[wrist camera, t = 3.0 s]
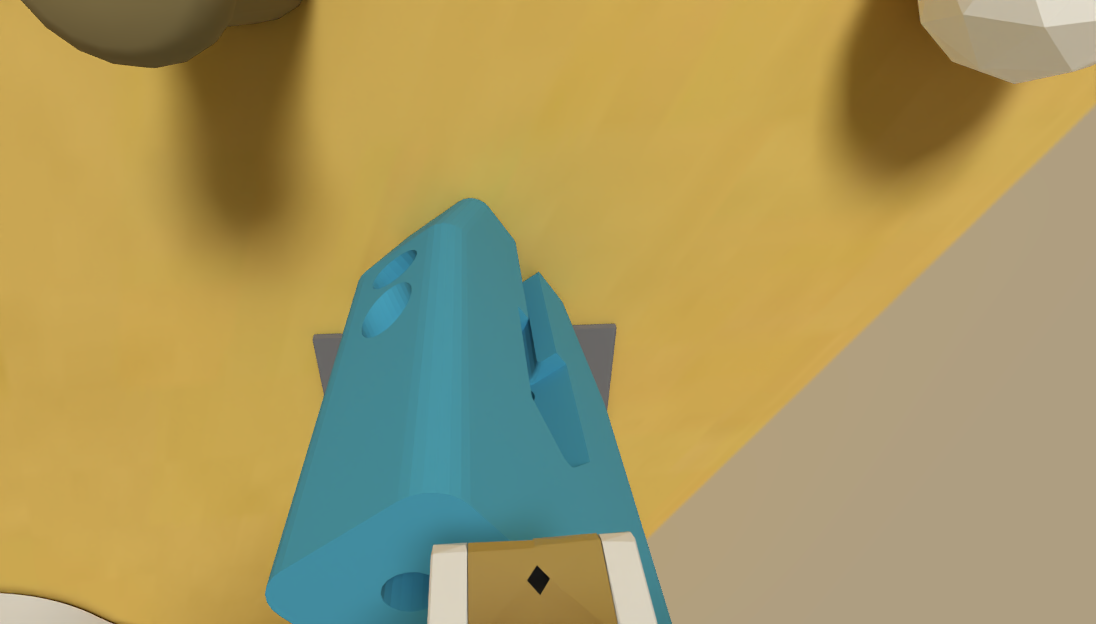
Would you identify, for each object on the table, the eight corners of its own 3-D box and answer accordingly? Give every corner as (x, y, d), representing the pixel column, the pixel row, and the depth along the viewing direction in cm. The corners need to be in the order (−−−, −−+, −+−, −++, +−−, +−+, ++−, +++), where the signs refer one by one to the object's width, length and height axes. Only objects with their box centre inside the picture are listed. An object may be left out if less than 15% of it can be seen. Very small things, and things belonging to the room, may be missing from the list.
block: (367, 221, 30) (243, 594, 13) (452, 160, 29) (438, 476, 12) (513, 382, 36) (561, 789, 19) (588, 336, 35) (711, 720, 18)
